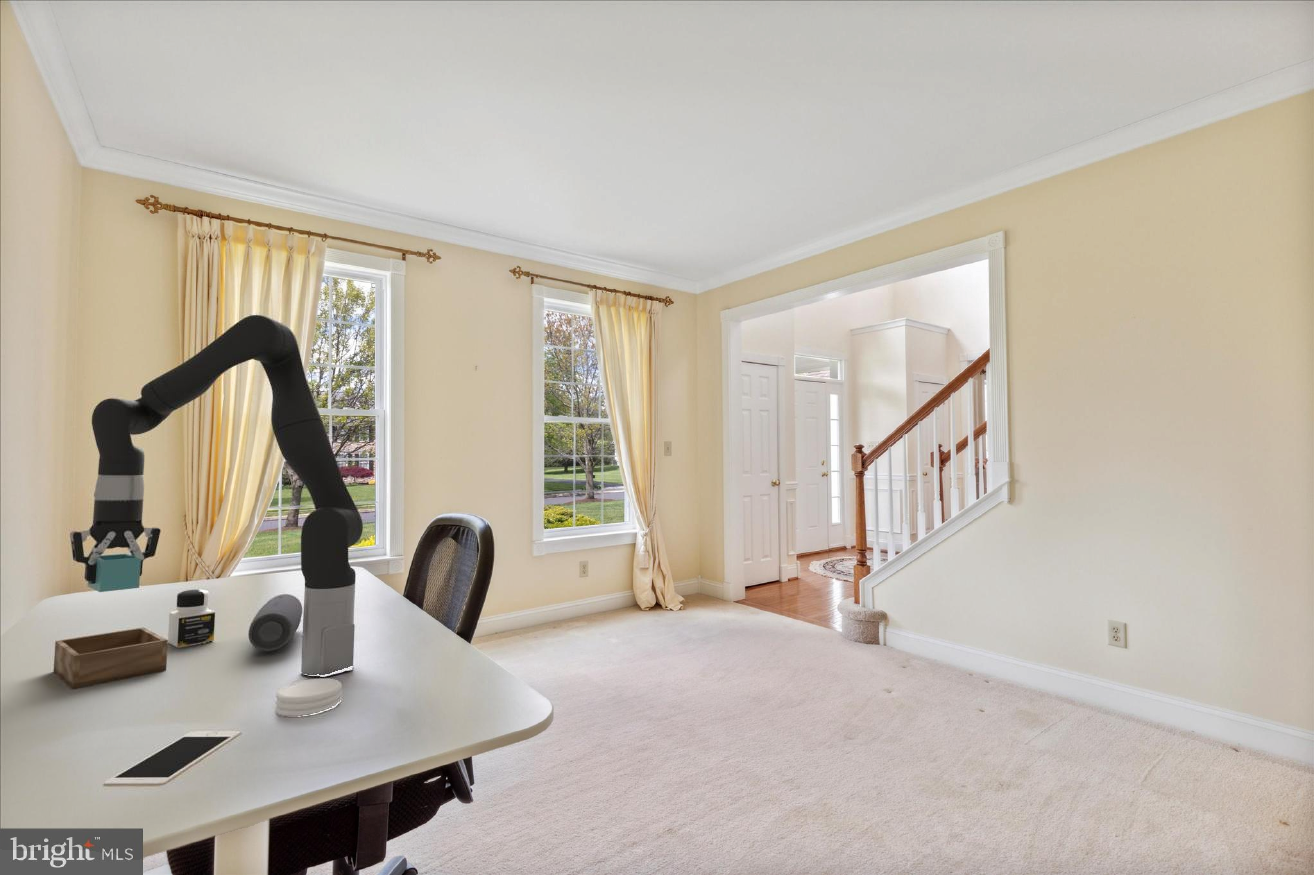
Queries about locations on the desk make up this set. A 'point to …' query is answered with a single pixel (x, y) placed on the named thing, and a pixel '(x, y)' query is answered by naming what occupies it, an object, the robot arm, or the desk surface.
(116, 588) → the small teal crate
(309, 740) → the desk surface
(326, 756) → the desk surface
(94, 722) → the desk surface
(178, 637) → the medicine bottle
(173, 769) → the cell phone
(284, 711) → the coaster
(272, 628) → the bluetooth speaker
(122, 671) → the walnut crate
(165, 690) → the desk surface
